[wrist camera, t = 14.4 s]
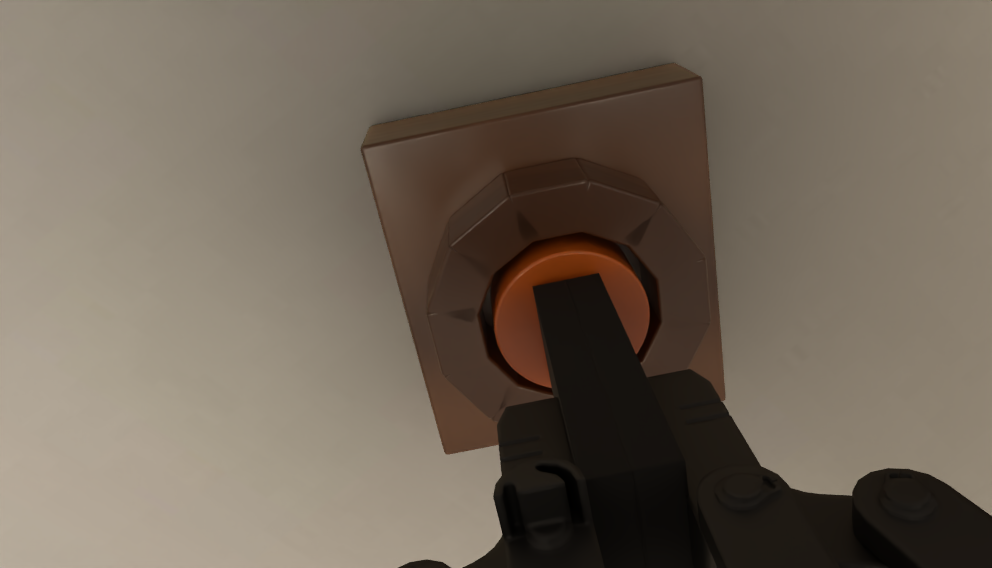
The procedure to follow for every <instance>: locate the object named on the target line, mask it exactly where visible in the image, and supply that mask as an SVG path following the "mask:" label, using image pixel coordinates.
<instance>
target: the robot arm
mask: <svg viewBox="0 0 992 568" xmlns="http://www.w3.org/2000/svg"><path fill="white" fill-rule="evenodd" d="M532 287H533V293H534V298H535V303H536V308H537V314H538V319H539V324H540V329H541V334H542V340H543V345H544V350H545V355H546V361H547V366H548V371H549V376H550V381H551V387H552V391H553V396H554V398H549V399H544V400H539V401H534V402H528V403H523V404H518V405H513V406H508V407H506V408H505V410H504V412H503V414H502V416H501V418H500V420H499V422H498V424H497V432H498V442H499V452H500V460H501V472H502V476H501V478H500V479H499V480H498V482H497V483H496V485H495V490H494V496H493V497H494V501H495V505H496V509H497V513H498V517H499V521H500V525H501V530H502V534H503V535H502V537H501V539H500V540H499V542H498V543H497V544H496V546H495V547H494V548H493V549H492V550H491V551H489V552H488V553H487V554H486V555H485V556H483V557H482V558H480V559H478V560H477V561H475V562H473V563H471V564H469V565H467V566H465V567H463V568H992V516H991V515H989V514H988V513H986V512H985V511H984V510H982V509H981V508H979V507H978V506H977V505H975V504H974V503H973V502H971V501H970V500H968V499H967V498H966V497H964V496H963V495H961V494H960V493H959V492H957V491H956V490H954V489H953V488H952V487H950V486H949V485H948V484H946V483H944V482H942V481H940V480H938V479H936V478H935V477H933V476H931V475H929V474H925V473H921V472H917V471H914V470H910V469H892V468H887V469H883V470H878V471H874V472H870V473H869V474H867V475H866V476H864V477H862V478H861V479H859V480H858V482H857V484H856V486H855V488H854V490H853V492H852V496H847V495H826V494H815V493H807V492H802V491H799V490H795V489H792V488H790V487H789V485H788V484H787V483H786V482H785V481H784V480H783V479H782V478H781V477H780V476H779V475H778V474H776V473H774V472H772V471H770V470H768V469H766V468H764V467H761V465H760V464H759V462H758V460H757V459H756V457H755V455H754V454H753V452H752V450H751V449H750V447H749V445H748V444H747V442H746V440H745V439H744V437H743V435H742V434H741V432H740V430H739V429H738V427H737V425H736V424H735V422H734V420H733V419H732V417H731V416H729V412H728V410H727V409H726V407H725V405H724V404H723V402H721V400H720V397H719V395H718V394H717V392H716V390H715V389H714V387H713V385H712V384H711V382H710V381H709V380H707V379H705V378H704V377H702V376H701V375H699V374H698V373H696V372H694V371H693V370H691V369H687V370H682V371H677V372H671V373H666V374H661V375H656V376H651V377H646V374H645V372H644V370H643V368H642V366H641V363H640V361H639V359H638V357H637V355H636V353H635V350H634V348H633V346H632V344H631V342H630V340H629V337H628V335H627V333H626V331H625V329H624V326H623V324H622V322H621V320H620V318H619V316H618V313H617V311H616V309H615V307H614V305H613V303H612V300H611V298H610V296H609V294H608V292H607V290H606V287H605V285H604V283H603V281H602V279H601V276H600V274H599V273H596V274H591V275H586V276H581V277H577V278H572V279H567V280H562V281H557V282H552V283H547V284H542V285H537V286H532ZM399 568H451V567H449V566H448V565H446V564H444V563H443V562H438V561H432V560H421V561H415V562H409V563H407V564H405V565H403V566H401V567H399Z"/></svg>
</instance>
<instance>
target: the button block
mask: <svg viewBox="0 0 992 568" xmlns="http://www.w3.org/2000/svg"><path fill="white" fill-rule="evenodd" d="M361 153H362V156H363V160H364V164H365V167H366V171H367V175H368V178H369V182H370V185H371V189H372V193H373V196H374V200H375V203H376V207H377V211H378V214H379V218H380V221H381V225H382V229H383V232H384V236H385V239H386V243H387V247H388V250H389V254H390V258H391V261H392V265H393V268H394V272H395V276H396V279H397V283H398V286H399V290H400V294H401V297H402V301H403V304H404V308H405V312H406V315H407V319H408V323H409V326H410V330H411V333H412V337H413V341H414V344H415V348H416V351H417V355H418V359H419V362H420V366H421V369H422V373H423V377H424V380H425V384H426V388H427V391H428V395H429V398H430V402H431V406H432V409H433V413H434V416H435V420H436V424H437V427H438V431H439V434H440V438H441V442H442V445H443V449H444V452H445V453H446V454H453V453H458V452H464V451H469V450H474V449H479V448H484V447H489V446H494V445H499V442H498V432H497V424H498V422H499V420H500V418H501V416H502V414H503V412H504V410H505V408H506V407H508V406H513V405H518V404H523V403H528V402H534V401H539V400H544V399H549V398H554V396H553V391H552V388H549V387H545V386H542V385H539V384H536V383H534V382H532V381H530V380H528V379H526V378H525V377H523V376H521V375H520V374H519V373H517V372H516V371H515V370H514V369H513V368H512V367H511V366H510V365H509V364H508V363H507V361H506V360H505V358H504V357H503V355H502V354H501V352H500V350H499V347H498V345H497V341H496V338H495V332H494V324H493V316H492V307H491V299H490V290H491V283H492V279H493V276H494V274H495V273H496V272H497V271H498V270H499V269H500V268H502V267H503V266H504V265H505V264H507V263H508V262H509V261H510V260H511V259H513V258H514V257H515V256H516V255H518V254H519V253H520V252H521V251H522V250H524V249H525V248H526V247H527V246H528V245H530V244H531V243H532V242H534V241H539V240H544V239H549V238H554V237H559V236H564V235H569V234H574V233H579V232H583V233H587V234H590V235H593V236H596V237H600V238H603V239H606V240H609V241H612V242H615V243H616V244H617V245H618V246H619V247H620V248H621V250H622V251H623V253H624V254H625V255H626V257H627V259H628V261H629V262H630V264H631V266H632V268H633V269H634V271H635V273H636V275H637V277H638V278H639V280H640V282H641V284H642V286H643V287H644V289H645V292H646V295H647V297H648V302H649V308H650V319H649V327H648V331H647V335H646V337H645V340H644V342H643V344H642V346H641V348H640V350H639V351H638V353H637V354H636V355H637V357H638V359H639V361H640V363H641V366H642V368H643V370H644V372H645V374H646V377H651V376H656V375H661V374H666V373H671V372H677V371H682V370H687V369H691V370H693V371H694V372H696V373H698V374H699V375H701V376H702V377H704V378H705V379H707V380H709V381H710V382H711V384H712V385H713V387H714V389H715V390H716V392H717V394H718V395H719V397H720V400H721V401H724V400H725V383H724V370H723V356H722V342H721V328H720V315H719V301H718V287H717V274H716V260H715V246H714V233H713V219H712V205H711V192H710V178H709V164H708V150H707V137H706V123H705V109H704V96H703V82H702V78H701V76H699V75H697V74H695V73H693V72H691V71H689V70H688V69H686V68H684V67H682V66H680V65H678V64H676V63H671V64H666V65H661V66H657V67H652V68H647V69H642V70H637V71H633V72H628V73H623V74H618V75H613V76H609V77H604V78H599V79H594V80H589V81H584V82H580V83H575V84H570V85H565V86H560V87H556V88H551V89H546V90H541V91H536V92H532V93H527V94H522V95H517V96H512V97H508V98H503V99H498V100H493V101H488V102H484V103H479V104H474V105H469V106H464V107H459V108H455V109H450V110H445V111H440V112H435V113H431V114H426V115H421V116H416V117H411V118H407V119H402V120H397V121H392V122H387V123H383V124H378V125H373V126H371V127H369V130H368V132H367V134H366V137H365V139H364V141H363V144H362V146H361Z"/></svg>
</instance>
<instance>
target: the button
mask: <svg viewBox="0 0 992 568" xmlns="http://www.w3.org/2000/svg"><path fill="white" fill-rule="evenodd" d="M596 273H599V274H600V276H601V279H602V281H603V283H604V285H605V287H606V290H607V292H608V294H609V296H610V298H611V300H612V303H613V305H614V307H615V309H616V311H617V313H618V316H619V318H620V320H621V322H622V324H623V326H624V329H625V331H626V333H627V335H628V337H629V340H630V342H631V344H632V346H633V348H634V350H635V353H636V354H637V353H638V351H639V350H640V348H641V346H642V344H643V342H644V340H645V337H646V335H647V331H648V327H649V319H650V308H649V302H648V297H647V295H646V292H645V289H644V287H643V286H642V284H641V282H640V280H639V278H638V277H637V275H636V273H635V271H634V269H633V268H632V266H631V264H630V262H629V261H628V259H627V257H626V255H625V254H624V253H623V251H622V250H621V248H620V247H619V246H618V245H617V244H616V243H615V242H612V241H609V240H606V239H603V238H600V237H596V236H593V235H590V234H587V233H583V232H579V233H574V234H569V235H564V236H559V237H554V238H549V239H544V240H539V241H534V242H532V243H531V244H530V245H528V246H527V247H526V248H525V249H524V250H522V251H521V252H520V253H519V254H518V255H516V256H515V257H514V258H513V259H511V260H510V261H509V262H508V263H507V264H505V265H504V266H503V267H502V268H500V269H499V270H498V271H497V272H496V273H495V274H494V276H493V279H492V283H491V290H490V299H491V307H492V316H493V324H494V332H495V338H496V341H497V345H498V347H499V350H500V352H501V354H502V355H503V357H504V358H505V360H506V361H507V363H508V364H509V365H510V366H511V367H512V368H513V369H514V370H515V371H516V372H517V373H519V374H520V375H521V376H523V377H525V378H526V379H528V380H530V381H532V382H534V383H536V384H539V385H542V386H545V387H549V388H552V387H551V381H550V376H549V371H548V366H547V361H546V355H545V350H544V345H543V340H542V334H541V329H540V324H539V319H538V314H537V308H536V303H535V298H534V293H533V287H532V286H537V285H542V284H547V283H552V282H557V281H562V280H567V279H572V278H577V277H581V276H586V275H591V274H596Z"/></svg>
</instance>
